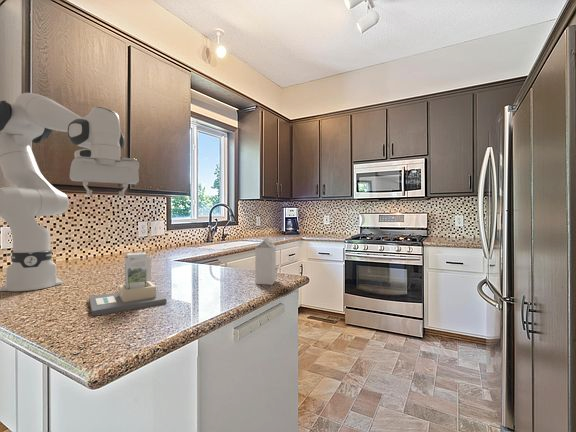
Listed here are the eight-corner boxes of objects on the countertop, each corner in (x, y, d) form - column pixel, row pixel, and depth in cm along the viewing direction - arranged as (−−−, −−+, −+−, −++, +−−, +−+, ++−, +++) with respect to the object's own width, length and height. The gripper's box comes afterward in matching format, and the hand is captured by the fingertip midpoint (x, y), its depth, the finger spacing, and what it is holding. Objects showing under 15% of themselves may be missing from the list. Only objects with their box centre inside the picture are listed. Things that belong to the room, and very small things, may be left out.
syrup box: (143, 292, 102) (143, 251, 102) (146, 296, 97) (146, 253, 97) (124, 295, 99) (124, 252, 98) (127, 299, 94) (127, 254, 94)
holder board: (89, 300, 98) (88, 285, 98) (153, 291, 109) (153, 278, 109) (92, 316, 83) (92, 298, 83) (166, 303, 95) (166, 288, 95)
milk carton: (255, 284, 120) (255, 238, 120) (259, 280, 128) (259, 236, 127) (272, 285, 119) (272, 238, 119) (275, 281, 126) (275, 237, 126)
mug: (155, 287, 116) (155, 256, 116) (143, 291, 109) (143, 259, 109) (132, 286, 118) (132, 256, 118) (120, 290, 111) (119, 258, 111)
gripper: (137, 160, 110) (137, 197, 110) (69, 153, 98) (69, 195, 98) (140, 157, 105) (141, 196, 105) (69, 150, 92) (69, 194, 93)
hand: (106, 195), depth 101 cm, fingers open, 8 cm apart
